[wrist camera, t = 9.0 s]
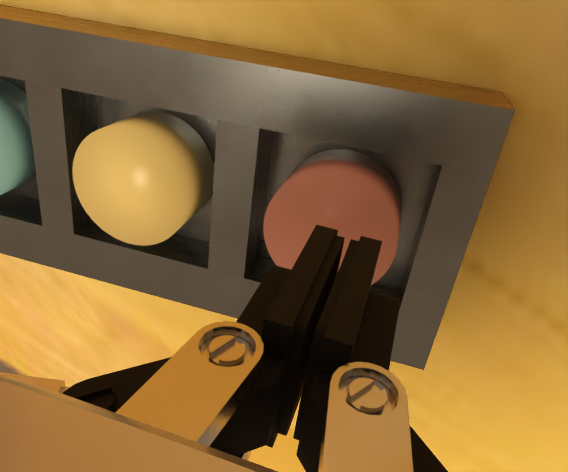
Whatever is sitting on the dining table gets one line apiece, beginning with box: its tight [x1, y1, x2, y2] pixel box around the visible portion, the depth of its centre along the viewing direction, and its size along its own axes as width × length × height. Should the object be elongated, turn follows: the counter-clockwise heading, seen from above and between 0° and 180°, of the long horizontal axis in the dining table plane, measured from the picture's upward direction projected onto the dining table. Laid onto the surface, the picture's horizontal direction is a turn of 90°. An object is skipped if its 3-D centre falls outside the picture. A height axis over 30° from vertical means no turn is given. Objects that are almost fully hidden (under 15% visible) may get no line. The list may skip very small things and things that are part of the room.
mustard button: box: [72, 111, 214, 246], centre depth 19 cm, size 5×5×3 cm
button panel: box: [0, 5, 515, 370], centre depth 20 cm, size 24×10×3 cm, turn 83°
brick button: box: [263, 149, 402, 285], centre depth 18 cm, size 5×5×3 cm
